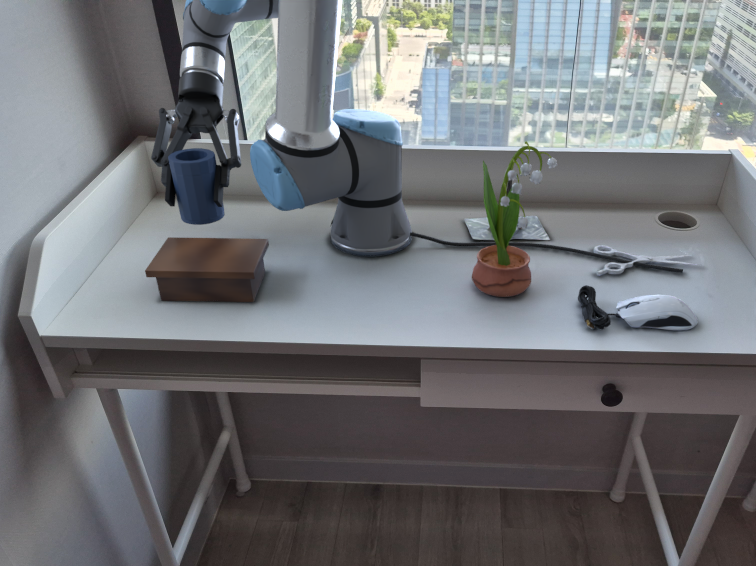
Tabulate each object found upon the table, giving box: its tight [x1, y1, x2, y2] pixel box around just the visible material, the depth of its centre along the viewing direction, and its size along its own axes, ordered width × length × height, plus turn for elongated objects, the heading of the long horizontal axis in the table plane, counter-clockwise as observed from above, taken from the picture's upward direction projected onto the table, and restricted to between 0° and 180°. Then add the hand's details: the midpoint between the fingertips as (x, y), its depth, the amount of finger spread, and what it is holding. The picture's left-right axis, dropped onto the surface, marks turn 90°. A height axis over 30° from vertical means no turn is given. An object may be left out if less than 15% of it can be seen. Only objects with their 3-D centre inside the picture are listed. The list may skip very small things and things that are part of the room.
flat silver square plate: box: [463, 179, 551, 241], centre depth 131 cm, size 15×10×13 cm
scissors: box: [593, 245, 701, 277], centre depth 125 cm, size 11×1×20 cm
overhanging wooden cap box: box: [144, 236, 270, 303], centre depth 114 cm, size 17×12×6 cm
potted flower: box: [471, 140, 559, 298], centre depth 110 cm, size 12×10×25 cm
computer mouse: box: [577, 284, 699, 331], centre depth 108 cm, size 10×18×4 cm, turn 88°
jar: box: [168, 147, 226, 226], centre depth 121 cm, size 8×8×11 cm
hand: (193, 203), depth 120 cm, fingers closed on jar, 8 cm apart
